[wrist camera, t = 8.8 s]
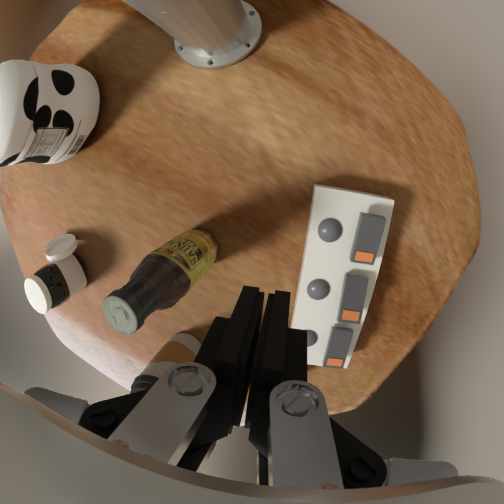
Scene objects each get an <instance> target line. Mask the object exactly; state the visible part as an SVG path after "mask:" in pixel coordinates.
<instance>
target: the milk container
mask: <svg viewBox="0 0 504 504" xmlns="http://www.w3.org/2000/svg"><path fill="white" fill-rule="evenodd" d="M99 108H100V93H99V87H98V84H97V82H96V80H95V78H94V77H93V75H92V74H91V73H90V72H88V71H87V70H85V69H84V68H82V67H79V66H77V65H73V64H56V65H46V64H41V63H37V62H28V61H25V60H8V61H6V62H3V63H1V64H0V167H2V166H6V165H14V164H18V163H23V162H36V163H41V164H54V163H59V162H62V161H65V160H67V159H69V158H71V157H73V156H74V155H76V154H77V153H78V152H79V151H80V150H81V149H82V148H83V147H84V146H85V144H86V143H87V141H88V140H89V138H90V137H91V135H92V133H93V131H94V128H95V125H96V122H97V119H98V115H99Z"/></svg>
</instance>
